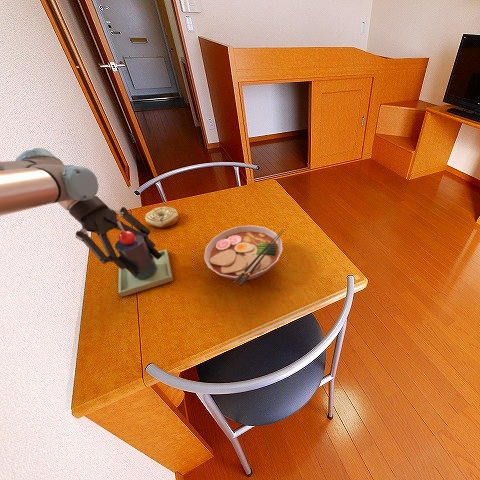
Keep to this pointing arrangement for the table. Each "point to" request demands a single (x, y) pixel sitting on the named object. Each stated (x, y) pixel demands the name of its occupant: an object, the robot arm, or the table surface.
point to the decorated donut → (162, 217)
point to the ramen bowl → (243, 252)
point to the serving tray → (159, 277)
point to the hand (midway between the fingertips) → (149, 265)
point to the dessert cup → (136, 253)
